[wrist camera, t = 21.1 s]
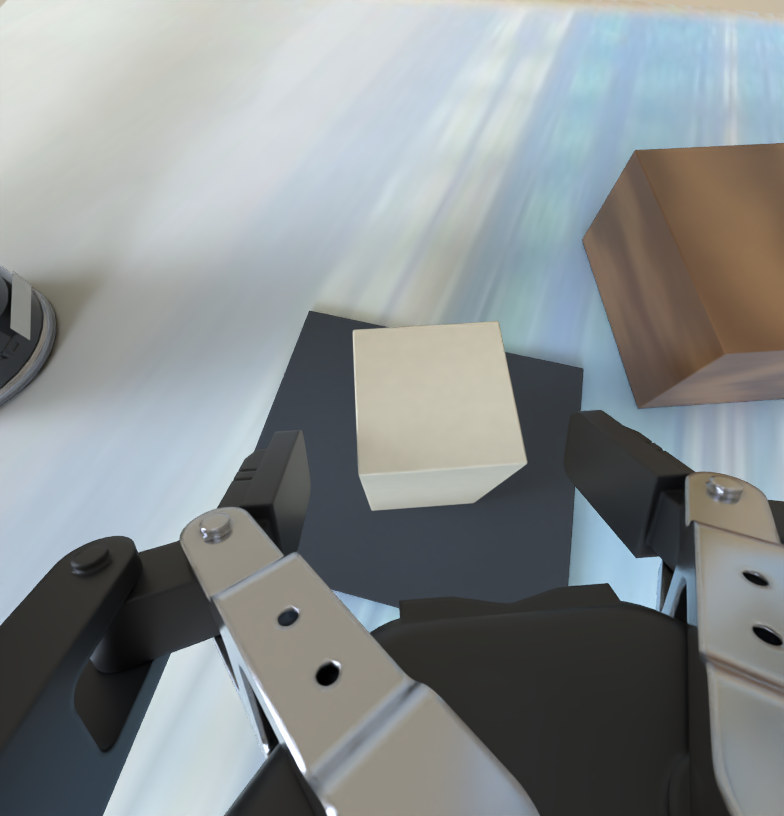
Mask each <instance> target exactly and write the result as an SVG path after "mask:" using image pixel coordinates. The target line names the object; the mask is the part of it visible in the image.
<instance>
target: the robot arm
mask: <svg viewBox="0 0 784 816" xmlns="http://www.w3.org/2000/svg"><path fill="white" fill-rule="evenodd" d="M55 335H56V318H55V314H54V311H53V309H52V306H51V305H50V303H49V302H48V300H47V299H46V298H45V297H44V296H43V295H42V294H41V293H40V292H38V291H37V290H36V289H34V288H33V287H32V286H31V284H29V283H28V282H27V281H26V280H24V279H23V278H22V277H20V276H19V275H18V274H17V273H15V272H14V271H13V274H12V273H10V272H9V271H8V270H7V269H5V268H4V267H3V266H1V265H0V405H2V404H4V403H5V402H6V401H8V400H9V399H11V398H12V397H13V396H15V395H16V394H17V393H19V392H20V391H21V390H22V389H23V388H24V387H25V386H26V385H27V384H28V383H29V382H30V381H31V380H32V379H33V378H34V377H35V376H36V374H37V373H38V372H39V370H40V369H41V368H42V366H43V365H44V363H45V361H46V360H47V358H48V356H49V354H50V352H51V349H52V347H53V344H54V340H55ZM564 468H565V472H566V474H567V476H568V478H569V479H570V480H571V482H572V483H573V484H574V485H575V486H576V488H577V489H578V490H579V491H580V492H581V493H582V495H583V496H584V497H585V498H586V499H587V501H588V502H589V503H590V504H591V505H592V506H593V508H594V509H595V510H596V511H597V512H598V514H599V515H600V516H601V517H602V518H603V519H604V521H605V522H606V523H607V524H608V525H609V527H610V528H611V529H612V530H613V531H614V532H615V534H616V535H617V536H618V537H619V538H620V540H621V541H622V542H623V543H624V544H625V545H626V547H627V548H628V549H629V550H630V551H631V553H632V554H633V555H634V556H635V557H636V558H644V557H656V556H659V557H660V558H661V559H662V561H661V564H660V567H659V571H658V584H657V599H656V610H654V609H651V608H648V607H645V606H642V605H638V604H634V603H629V602H624V601H620V599H619V598H618V597H617V595H616V594H615V592H614V591H613V589H612V588H611V587H610V585H609V584H608V583H605V584H593V585H581V586H568V587H557V588H554V589H551V590H549V591H546V592H543V593H540V594H537V595H534V596H531V597H528V598H525V599H523V600H520V601H517V602H514V603H508V604H506V603H497V602H490V601H482V600H475V599H468V598H460V597H453V596H448V597H436V598H424V599H412V600H400V601H399V610H400V618H399V619H396V620H393V621H391V622H388V623H386V624H384V625H382V626H380V627H378V628H377V629H375V630H373V631H372V632H370V633H369V632H368V631H367V630H366V629H365V628H364V626H363V625H362V624H361V623H360V622H359V621H358V620H357V618H356V617H355V616H354V615H353V614H352V613H351V612H350V611H349V609H348V608H347V607H346V606H345V605H344V604H343V603H342V602H341V600H340V599H339V598H338V597H337V596H336V595H335V594H334V593H333V591H332V590H331V589H330V588H329V587H328V586H327V585H326V583H325V582H324V581H323V580H322V579H321V578H320V577H319V576H318V574H317V573H316V572H315V571H314V570H313V569H312V568H311V567H310V565H309V564H308V563H307V562H306V561H305V560H304V559H303V558H302V556H301V555H300V554H298V553H297V551H298V546H299V542H300V538H301V533H302V529H303V525H304V520H305V516H306V512H307V507H308V503H309V499H310V492H311V481H310V472H309V466H308V460H307V453H306V447H305V440H304V435H303V432H302V430H292V431H278V432H275V433H274V435H273V437H272V439H271V441H270V443H269V445H268V447H267V449H257V450H256V451H255V452H253V453H252V454H251V455H250V456H248V457H247V458H246V459H245V460H244V462H243V463H242V465H241V467H240V469H239V472H237V474H236V476H235V478H234V481H232V483H231V485H230V486H229V488H228V490H227V492H226V493H225V495H224V497H223V499H222V500H221V502H220V504H219V506H218V507H217V509H214V510H211V511H208V512H206V513H204V514H202V515H200V516H198V517H197V518H195V519H194V520H192V521H191V522H190V523H189V524H188V525H187V526H186V527H185V528H184V529H183V531H182V532H181V535H180V540H179V541H177V542H173V543H170V544H167V545H163V546H160V547H156V548H153V549H149V550H146V551H142V552H139V553H138V551H137V549H136V546H135V544H134V542H133V541H132V539H130V538H128V537H124V536H112V537H106V538H102V539H98V540H95V541H92V542H90V543H87V544H85V545H83V546H81V547H79V548H77V549H75V550H74V551H72V552H70V553H69V554H67V555H66V556H64V557H63V558H62V559H61V560H60V561H58V562H57V563H56V564H55V565H54V566H53V568H52V569H51V570H50V571H49V572H48V573H47V574H46V575H45V576H44V578H43V579H42V580H41V581H40V582H39V583H38V584H37V585H36V587H35V588H34V589H33V590H32V591H31V592H30V593H29V594H28V595H27V597H26V598H25V599H24V600H23V601H22V602H21V603H20V604H19V606H18V607H17V608H16V609H15V610H14V611H13V612H12V613H11V614H10V616H9V617H8V618H7V619H6V620H5V621H4V622H3V623H2V625H1V626H0V816H103V814H104V811H105V809H106V807H107V804H108V802H109V800H110V797H111V795H112V792H113V790H114V788H115V785H116V783H117V780H118V778H119V776H120V773H121V771H122V769H123V766H124V764H125V761H126V759H127V757H128V754H129V752H130V749H131V747H132V745H133V742H134V740H135V738H136V735H137V733H138V730H139V728H140V726H141V723H142V721H143V718H144V716H145V714H146V711H147V709H148V707H149V704H150V702H151V699H152V697H153V695H154V692H155V690H156V687H157V685H158V683H159V680H160V678H161V676H162V673H163V671H164V668H165V666H166V664H167V661H168V659H169V656H170V654H171V653H172V652H175V651H178V650H180V649H183V648H186V647H189V646H191V645H194V644H197V643H199V642H202V641H205V640H207V639H210V638H213V641H214V643H215V645H216V647H217V649H218V652H219V654H220V656H221V658H222V660H223V662H224V665H225V667H226V669H227V671H228V673H229V676H230V678H231V680H232V682H233V684H234V686H235V689H236V691H237V693H238V695H239V697H240V699H241V702H242V704H243V706H244V709H245V711H246V713H247V716H248V718H249V721H250V724H251V726H252V729H253V731H254V734H255V736H256V739H257V741H258V744H259V746H260V748H261V751H262V753H263V755H264V757H265V760H266V761H265V762H264V763H263V765H262V766H261V767H260V769H259V770H258V771H257V773H256V774H255V775H254V777H253V778H252V779H251V781H250V782H249V783H248V785H247V786H246V787H245V789H244V790H243V791H242V793H241V794H240V795H239V796H238V798H237V799H236V800H235V802H234V803H233V804H232V806H231V807H230V808H229V810H228V811H227V812H226V814H225V815H224V816H784V502H783V501H774V500H767V498H766V496H765V495H764V493H763V492H762V491H760V490H759V489H758V488H756V487H755V486H753V485H751V484H749V483H747V482H745V481H743V480H741V479H738V478H735V477H732V476H729V475H725V474H720V473H714V472H695V471H693V470H692V469H690V468H689V467H688V466H686V465H685V464H683V463H682V462H680V461H679V460H678V459H676V458H675V457H673V456H672V455H671V454H669V453H668V452H666V451H663V450H662V448H661V447H659V446H658V445H656V444H655V443H652V441H651V440H649V439H648V438H646V437H645V436H644V435H642V434H641V433H639V432H637V431H635V430H633V429H630V428H628V427H625V426H623V425H622V424H620V423H619V422H617V421H616V420H615V419H613V418H612V417H611V416H609V415H608V414H606V413H605V412H604V411H602V410H592V411H577V412H573V413H572V414H571V416H570V419H569V425H568V432H567V439H566V446H565V452H564Z"/></svg>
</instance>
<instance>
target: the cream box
mask: <svg viewBox="0 0 784 816" xmlns="http://www.w3.org/2000/svg"><path fill="white" fill-rule="evenodd" d="M353 355H354V380H355V404H356V428H357V453H358V474H359V477H360V480H361V483H362V485H363V488H364V491H365V494H366V496H367V499H368V502H369V505H370V507H371V510H372V511H375V510H389V509H402V508H416V507H429V506H442V505H456V504H469V503H474V502H476V501H477V500H479V499H480V498H481V497H483V496H484V495H485V494H487V493H488V492H489V491H491V490H492V489H493V488H495V487H496V486H498V485H499V484H500V483H502V482H503V481H504V480H506V479H507V478H508V477H510V476H511V475H513V474H514V473H515V472H517V471H518V470H519V469H521V468H522V467H523V466H525V465H526V464H527V457H526V452H525V447H524V442H523V437H522V433H521V428H520V423H519V418H518V413H517V408H516V404H515V399H514V394H513V389H512V384H511V379H510V375H509V370H508V365H507V360H506V355H505V350H504V345H503V341H502V336H501V331H500V326H499V322H498V321H492V322H476V323H459V324H443V325H426V326H410V327H393V328H377V329H360V330H353Z"/></svg>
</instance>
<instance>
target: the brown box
mask: <svg viewBox="0 0 784 816" xmlns="http://www.w3.org/2000/svg"><path fill="white" fill-rule="evenodd" d="M582 241H583V244H584V247H585V250H586V253H587V256H588V259H589V262H590V265H591V268H592V271H593V274H594V277H595V280H596V283H597V286H598V289H599V292H600V295H601V298H602V301H603V304H604V307H605V310H606V313H607V316H608V319H609V322H610V325H611V328H612V331H613V335H614V338H615V341H616V344H617V347H618V350H619V353H620V356H621V359H622V362H623V365H624V368H625V371H626V374H627V377H628V380H629V383H630V386H631V389H632V392H633V395H634V398H635V401H636V404H637V407H638V408H654V407H669V406H684V405H699V404H714V403H728V402H743V401H758V400H773V399H784V143H776V144H755V145H734V146H713V147H692V148H671V149H650V150H635V151H634V153H633V154H632V156H631V158H630V160H629V161H628V163H627V165H626V166H625V168H624V170H623V171H622V173H621V175H620V176H619V178H618V180H617V182H616V183H615V185H614V187H613V188H612V190H611V192H610V193H609V195H608V197H607V198H606V200H605V202H604V204H603V205H602V207H601V209H600V210H599V212H598V214H597V215H596V217H595V219H594V221H593V222H592V224H591V226H590V227H589V229H588V231H587V232H586V234H585V236H584V237H583V239H582Z"/></svg>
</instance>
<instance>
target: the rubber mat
mask: <svg viewBox="0 0 784 816" xmlns="http://www.w3.org/2000/svg"><path fill="white" fill-rule="evenodd" d="M377 328H389V327H384V326H379V325H375V324H370V323H365V322H360V321H356V320H351V319H346V318H342V317H337V316H332V315H327V314H323V313H318V312H313V311H309V313H308V315H307V318H306V320H305V323H304V325H303V328H302V331H301V333H300V336H299V338H298V341H297V343H296V346H295V349H294V351H293V354H292V356H291V359H290V361H289V364H288V366H287V369H286V372H285V374H284V377H283V379H282V382H281V384H280V387H279V389H278V392H277V395H276V397H275V400H274V402H273V405H272V407H271V410H270V413H269V415H268V418H267V420H266V423H265V425H264V428H263V430H262V433H261V436H260V438H259V441H258V443H257V446H256V448H255V451H256V450H257V449H267V447H268V445H269V443H270V441H271V439H272V437H273V435H274V433H275V432H278V431H292V430H302V432H303V435H304V440H305V447H306V453H307V460H308V466H309V472H310V481H311V492H310V499H309V503H308V507H307V512H306V516H305V520H304V525H303V529H302V533H301V538H300V542H299V546H298V551H297V553H298V554H300V555H301V556H302V558H303V559H304V560H305V561H306V562H307V563H308V564H309V565H310V567H311V568H312V569H313V570H314V571H315V572H316V573H317V574H318V576H319V577H320V578H321V579H322V580H323V581H324V582H325V583H326V585H327V586H328V587H329V588H330V589H332V590H335V591H339V592H343V593H346V594H350V595H354V596H357V597H361V598H364V599H368V600H372V601H375V602H379V603H383V604H386V605H390V606H393V607H397V608H399V601H400V600H412V599H424V598H436V597H448V596H453V597H460V598H468V599H475V600H482V601H490V602H497V603H506V604H508V603H514V602H517V601H520V600H523V599H525V598H528V597H531V596H534V595H537V594H540V593H543V592H546V591H549V590H551V589H554V588H557V587H568V579H569V565H570V551H571V537H572V523H573V509H574V495H575V485H574V484H573V483H572V482H571V480H570V479H569V478H568V476H567V474H566V472H565V468H564V452H565V446H566V439H567V432H568V425H569V419H570V416H571V414H572V413H573V412H577V411H580V410H581V396H582V382H583V368H578V367H573V366H568V365H564V364H559V363H554V362H550V361H545V360H540V359H535V358H531V357H526V356H521V355H516V354H512V353H507V352H505V355H506V360H507V365H508V370H509V375H510V379H511V384H512V389H513V394H514V399H515V404H516V408H517V413H518V418H519V423H520V428H521V433H522V437H523V442H524V447H525V452H526V457H527V464H526V465H525V466H523V467H522V468H521V469H519V470H518V471H517V472H515V473H514V474H513V475H511V476H510V477H508V478H507V479H506V480H504V481H503V482H502V483H500V484H499V485H498V486H496V487H495V488H493V489H492V490H491V491H489V492H488V493H487V494H485V495H484V496H483V497H481V498H480V499H479V500H477V501H476V502H474V503H469V504H456V505H442V506H429V507H416V508H402V509H389V510H375V511H372V510H371V507H370V505H369V502H368V499H367V496H366V494H365V491H364V488H363V485H362V483H361V480H360V477H359V474H358V453H357V428H356V404H355V380H354V355H353V330H360V329H377ZM255 451H254V452H255Z"/></svg>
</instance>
